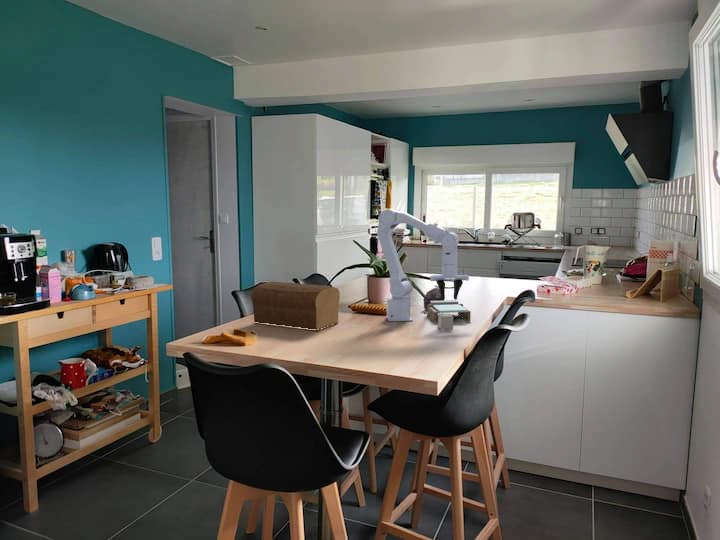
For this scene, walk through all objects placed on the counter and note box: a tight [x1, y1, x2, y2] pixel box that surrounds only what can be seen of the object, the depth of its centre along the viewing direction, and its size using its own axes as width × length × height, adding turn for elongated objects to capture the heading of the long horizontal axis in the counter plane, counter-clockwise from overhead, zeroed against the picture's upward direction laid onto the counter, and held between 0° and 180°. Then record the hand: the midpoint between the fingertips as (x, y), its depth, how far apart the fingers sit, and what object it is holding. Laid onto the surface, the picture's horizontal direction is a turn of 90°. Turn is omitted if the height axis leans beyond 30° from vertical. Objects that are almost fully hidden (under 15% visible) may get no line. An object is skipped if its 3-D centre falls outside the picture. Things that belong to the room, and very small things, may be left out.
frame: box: [426, 303, 472, 323], centre depth 218 cm, size 14×14×5 cm
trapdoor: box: [430, 299, 467, 314], centre depth 218 cm, size 17×11×2 cm, turn 5°
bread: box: [250, 281, 341, 330], centre depth 210 cm, size 18×30×16 cm, turn 62°
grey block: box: [437, 313, 454, 330], centre depth 201 cm, size 4×4×5 cm
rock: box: [422, 287, 445, 311], centre depth 238 cm, size 12×9×10 cm
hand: (449, 299), depth 208 cm, fingers open, 4 cm apart
